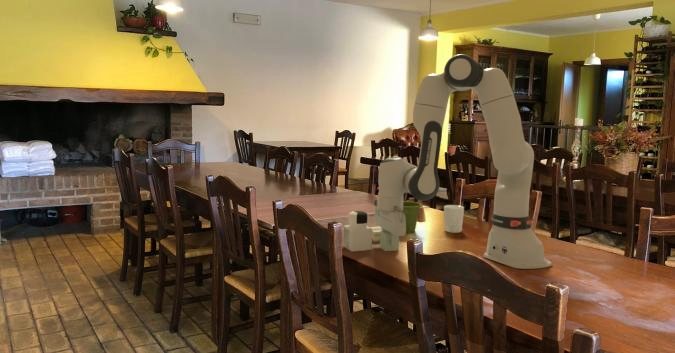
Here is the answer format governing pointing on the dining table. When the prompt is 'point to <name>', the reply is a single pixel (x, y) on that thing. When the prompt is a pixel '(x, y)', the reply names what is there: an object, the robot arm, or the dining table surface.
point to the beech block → (376, 233)
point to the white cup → (453, 218)
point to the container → (357, 232)
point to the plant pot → (411, 214)
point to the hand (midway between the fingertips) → (389, 242)
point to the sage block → (387, 241)
